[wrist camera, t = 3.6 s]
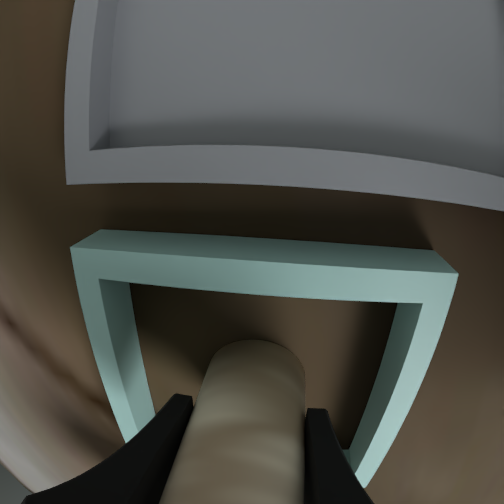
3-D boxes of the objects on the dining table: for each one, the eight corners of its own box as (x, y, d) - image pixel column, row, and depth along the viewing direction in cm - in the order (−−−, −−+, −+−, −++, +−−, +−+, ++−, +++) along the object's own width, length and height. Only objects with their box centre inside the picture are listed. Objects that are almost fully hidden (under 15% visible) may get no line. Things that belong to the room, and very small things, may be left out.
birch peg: (310, 343, 12) (312, 551, 4) (299, 412, 13) (289, 578, 6) (206, 334, 12) (127, 522, 5) (210, 403, 14) (161, 560, 6)
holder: (434, 250, 10) (458, 273, 8) (362, 458, 14) (365, 487, 12) (100, 229, 11) (69, 247, 9) (146, 436, 15) (134, 462, 13)
